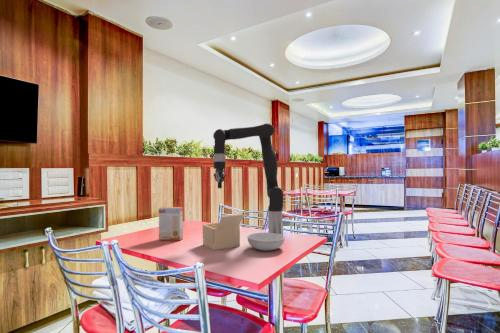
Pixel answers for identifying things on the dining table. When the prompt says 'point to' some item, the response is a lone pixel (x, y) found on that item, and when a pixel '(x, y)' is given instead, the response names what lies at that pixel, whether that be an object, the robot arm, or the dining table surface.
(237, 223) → the carton flap
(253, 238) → the serving bowl
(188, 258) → the dining table surface
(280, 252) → the dining table surface
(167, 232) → the cracker box
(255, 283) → the dining table surface
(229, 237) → the carton
